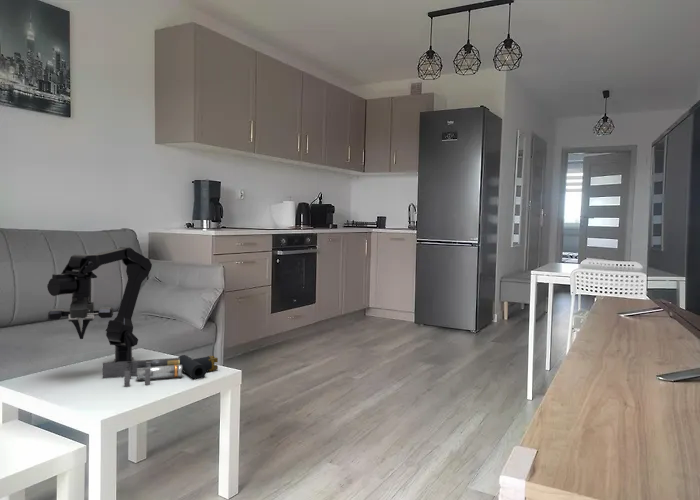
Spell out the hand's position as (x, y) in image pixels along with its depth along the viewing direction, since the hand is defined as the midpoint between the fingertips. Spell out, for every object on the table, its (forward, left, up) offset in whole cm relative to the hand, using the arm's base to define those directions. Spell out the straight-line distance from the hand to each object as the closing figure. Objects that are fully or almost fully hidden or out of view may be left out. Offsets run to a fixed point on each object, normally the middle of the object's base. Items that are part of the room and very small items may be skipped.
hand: (81, 338), depth 169 cm
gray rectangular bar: (+8, +19, -12) cm, 24 cm away
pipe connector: (+7, +38, -12) cm, 40 cm away
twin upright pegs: (+13, +18, -12) cm, 25 cm away
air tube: (+13, +25, -12) cm, 30 cm away
